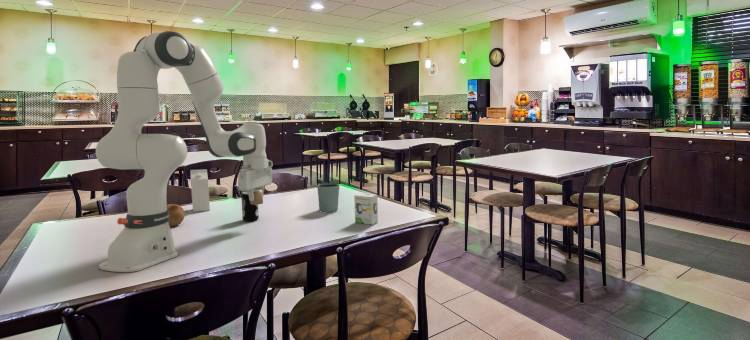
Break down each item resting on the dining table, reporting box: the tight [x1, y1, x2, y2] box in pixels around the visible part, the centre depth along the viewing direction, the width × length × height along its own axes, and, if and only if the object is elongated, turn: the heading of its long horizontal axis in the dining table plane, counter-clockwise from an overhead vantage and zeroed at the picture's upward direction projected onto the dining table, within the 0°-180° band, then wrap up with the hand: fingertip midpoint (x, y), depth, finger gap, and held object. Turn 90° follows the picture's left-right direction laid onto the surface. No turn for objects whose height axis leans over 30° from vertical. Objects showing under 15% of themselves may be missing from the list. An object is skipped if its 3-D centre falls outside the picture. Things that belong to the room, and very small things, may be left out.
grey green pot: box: [316, 183, 340, 213], centre depth 196 cm, size 10×10×12 cm
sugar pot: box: [250, 188, 264, 205], centre depth 167 cm, size 5×5×5 cm
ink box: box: [353, 192, 379, 226], centre depth 174 cm, size 9×5×12 cm, turn 62°
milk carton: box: [189, 168, 211, 213], centre depth 197 cm, size 7×7×19 cm
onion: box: [167, 203, 186, 227], centre depth 172 cm, size 10×9×10 cm
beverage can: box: [241, 191, 260, 223], centre depth 179 cm, size 7×7×12 cm
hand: (256, 199), depth 167 cm, fingers closed on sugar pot, 5 cm apart
